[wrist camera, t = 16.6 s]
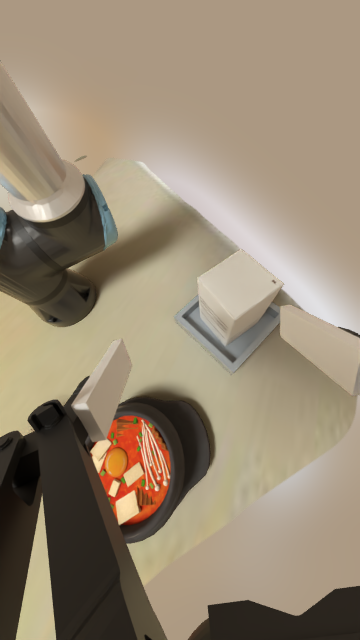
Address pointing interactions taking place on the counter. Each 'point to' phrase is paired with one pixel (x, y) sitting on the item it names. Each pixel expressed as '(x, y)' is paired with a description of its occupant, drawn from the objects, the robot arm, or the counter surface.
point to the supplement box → (235, 295)
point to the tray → (235, 350)
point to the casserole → (150, 462)
